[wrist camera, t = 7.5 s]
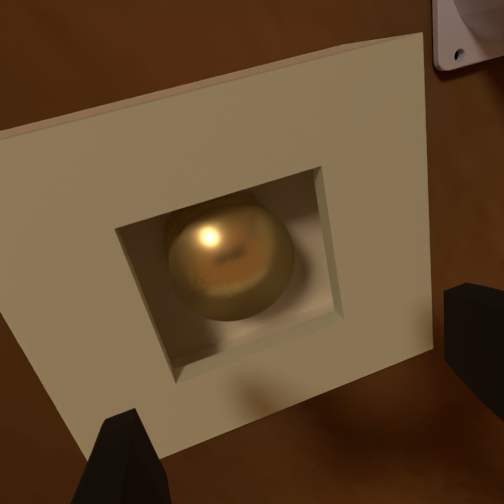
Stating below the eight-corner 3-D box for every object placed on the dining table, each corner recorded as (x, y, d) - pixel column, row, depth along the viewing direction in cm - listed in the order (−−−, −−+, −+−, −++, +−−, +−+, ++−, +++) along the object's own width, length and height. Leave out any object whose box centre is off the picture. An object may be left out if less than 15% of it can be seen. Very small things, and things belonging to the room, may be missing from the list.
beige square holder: (342, 44, 17) (422, 32, 12) (369, 293, 22) (433, 348, 17) (-23, 137, 14) (-87, 163, 10) (104, 391, 20) (100, 482, 15)
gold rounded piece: (283, 198, 18) (311, 219, 15) (253, 293, 19) (273, 328, 16) (178, 172, 16) (188, 190, 13) (153, 277, 17) (157, 313, 15)
